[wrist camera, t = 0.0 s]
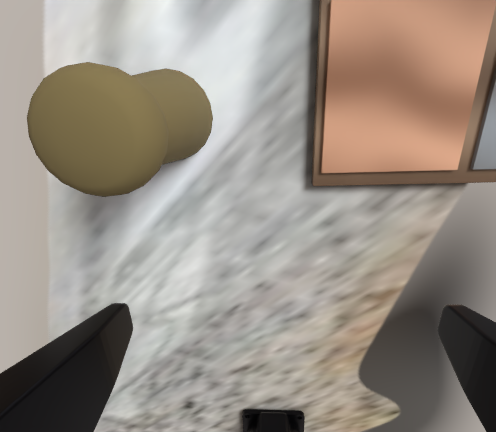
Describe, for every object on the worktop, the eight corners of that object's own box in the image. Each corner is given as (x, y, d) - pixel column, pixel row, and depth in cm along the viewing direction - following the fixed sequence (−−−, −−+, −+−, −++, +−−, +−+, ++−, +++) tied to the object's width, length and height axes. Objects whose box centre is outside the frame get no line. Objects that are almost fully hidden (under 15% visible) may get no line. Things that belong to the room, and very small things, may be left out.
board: (602, 176, 21) (619, 180, 20) (311, 182, 22) (313, 187, 21) (693, -39, 16) (722, -48, 15) (320, -15, 17) (323, -22, 16)
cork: (174, 48, 19) (72, -2, 9) (229, 128, 21) (196, 162, 11) (109, 105, 21) (-42, 117, 11) (165, 175, 22) (82, 243, 12)
